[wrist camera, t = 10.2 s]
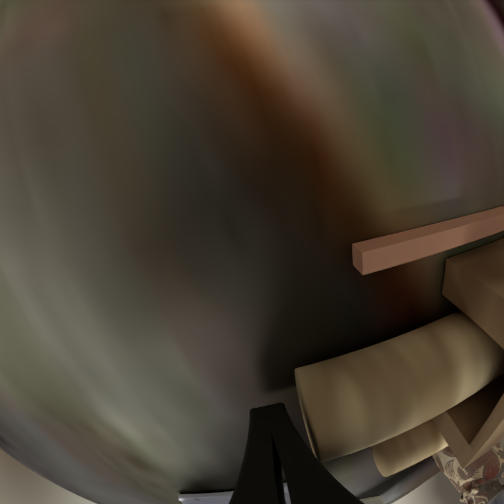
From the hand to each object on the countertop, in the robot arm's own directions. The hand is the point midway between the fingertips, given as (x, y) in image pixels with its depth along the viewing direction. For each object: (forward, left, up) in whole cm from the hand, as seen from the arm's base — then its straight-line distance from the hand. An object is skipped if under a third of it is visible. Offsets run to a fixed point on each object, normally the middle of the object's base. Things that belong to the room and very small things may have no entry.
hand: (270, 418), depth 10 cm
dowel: (+7, 0, -1) cm, 7 cm away
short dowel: (+10, -9, -2) cm, 13 cm away
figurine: (+18, -19, -2) cm, 26 cm away
